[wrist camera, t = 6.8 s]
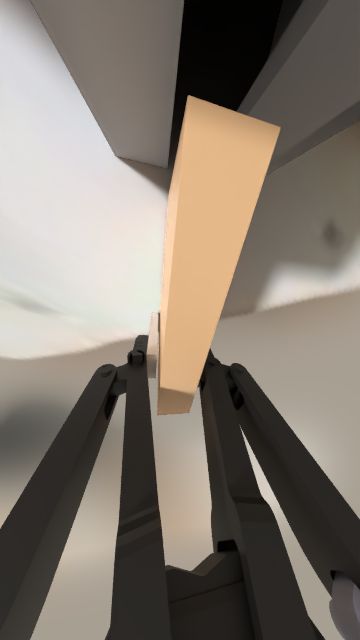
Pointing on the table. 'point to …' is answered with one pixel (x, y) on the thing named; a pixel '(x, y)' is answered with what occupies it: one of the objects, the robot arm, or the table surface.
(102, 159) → the table surface
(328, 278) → the table surface
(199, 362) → the light orange rectangular block
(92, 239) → the table surface
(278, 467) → the robot arm
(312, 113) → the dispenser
